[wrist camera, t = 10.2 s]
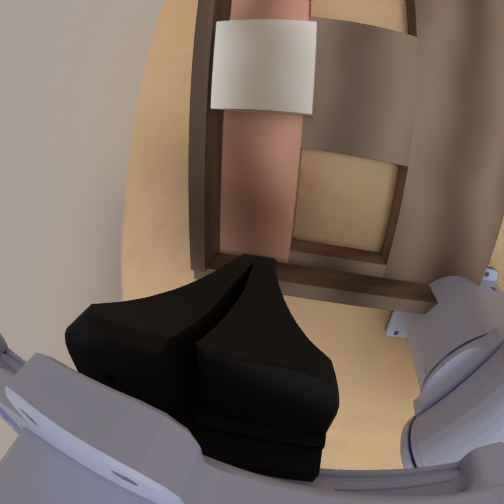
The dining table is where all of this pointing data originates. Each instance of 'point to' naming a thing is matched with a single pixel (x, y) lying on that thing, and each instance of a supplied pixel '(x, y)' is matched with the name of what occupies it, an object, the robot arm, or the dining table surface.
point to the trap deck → (360, 152)
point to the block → (265, 66)
